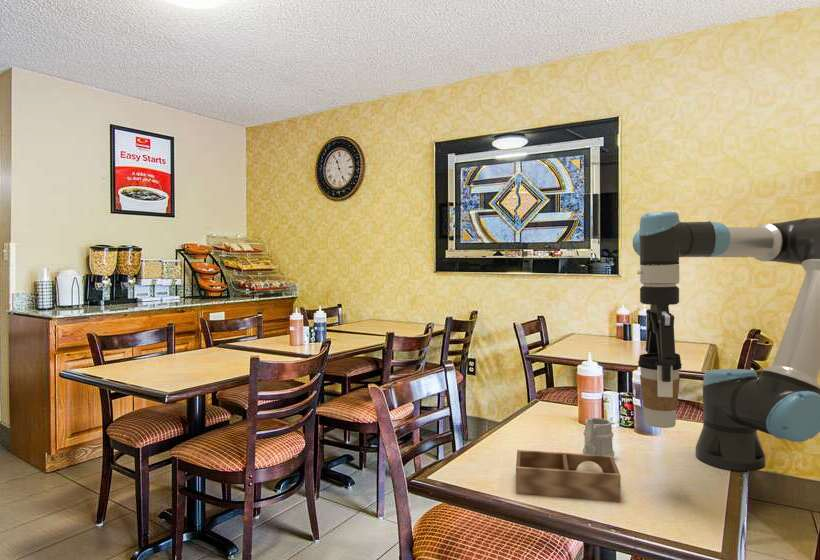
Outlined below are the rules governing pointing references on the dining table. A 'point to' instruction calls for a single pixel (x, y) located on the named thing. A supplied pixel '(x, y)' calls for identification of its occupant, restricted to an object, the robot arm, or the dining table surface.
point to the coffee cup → (655, 407)
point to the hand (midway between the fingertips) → (659, 391)
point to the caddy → (567, 476)
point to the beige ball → (589, 467)
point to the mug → (598, 437)
